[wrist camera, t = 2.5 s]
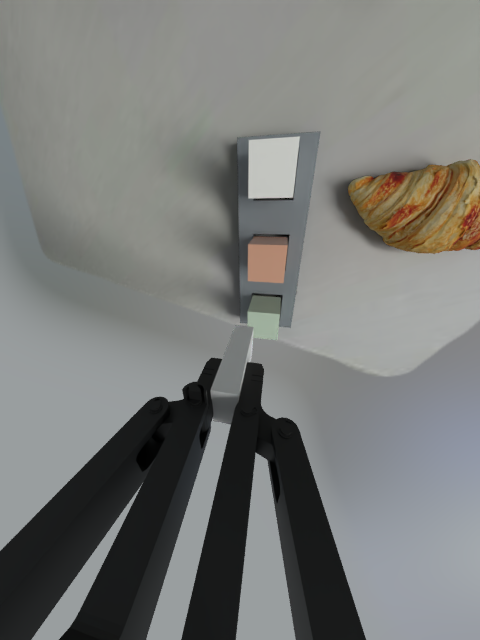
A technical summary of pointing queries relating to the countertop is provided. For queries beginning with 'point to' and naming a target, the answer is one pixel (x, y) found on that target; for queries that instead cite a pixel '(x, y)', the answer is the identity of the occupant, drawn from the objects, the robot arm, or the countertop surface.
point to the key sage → (264, 316)
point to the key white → (272, 167)
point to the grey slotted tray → (275, 223)
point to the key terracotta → (267, 259)
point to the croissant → (423, 207)
